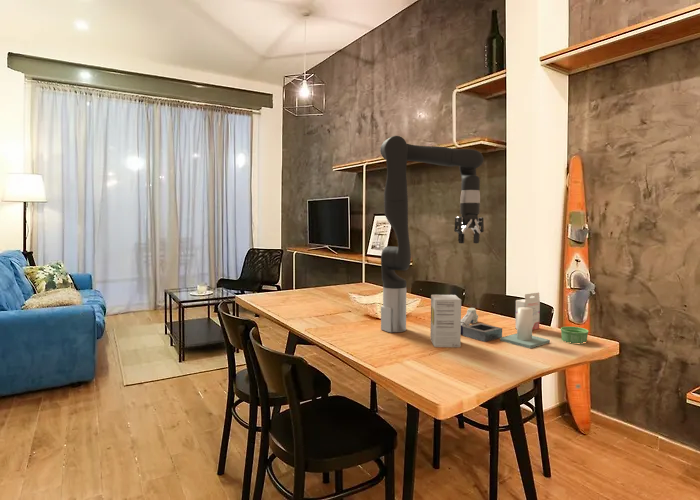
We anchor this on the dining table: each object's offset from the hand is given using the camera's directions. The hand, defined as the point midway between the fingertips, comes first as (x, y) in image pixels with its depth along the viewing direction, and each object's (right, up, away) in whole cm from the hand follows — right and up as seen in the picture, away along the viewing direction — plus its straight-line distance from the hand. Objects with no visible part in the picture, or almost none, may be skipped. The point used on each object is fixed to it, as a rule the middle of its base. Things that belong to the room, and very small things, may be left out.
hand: (468, 243), depth 173 cm
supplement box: (-13, -36, -18) cm, 43 cm away
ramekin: (+34, -36, -16) cm, 52 cm away
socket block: (+2, -35, -10) cm, 36 cm away
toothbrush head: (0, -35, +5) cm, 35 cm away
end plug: (+16, -35, -16) cm, 41 cm away
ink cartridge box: (+24, -35, +2) cm, 42 cm away
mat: (+16, -36, -16) cm, 42 cm away
